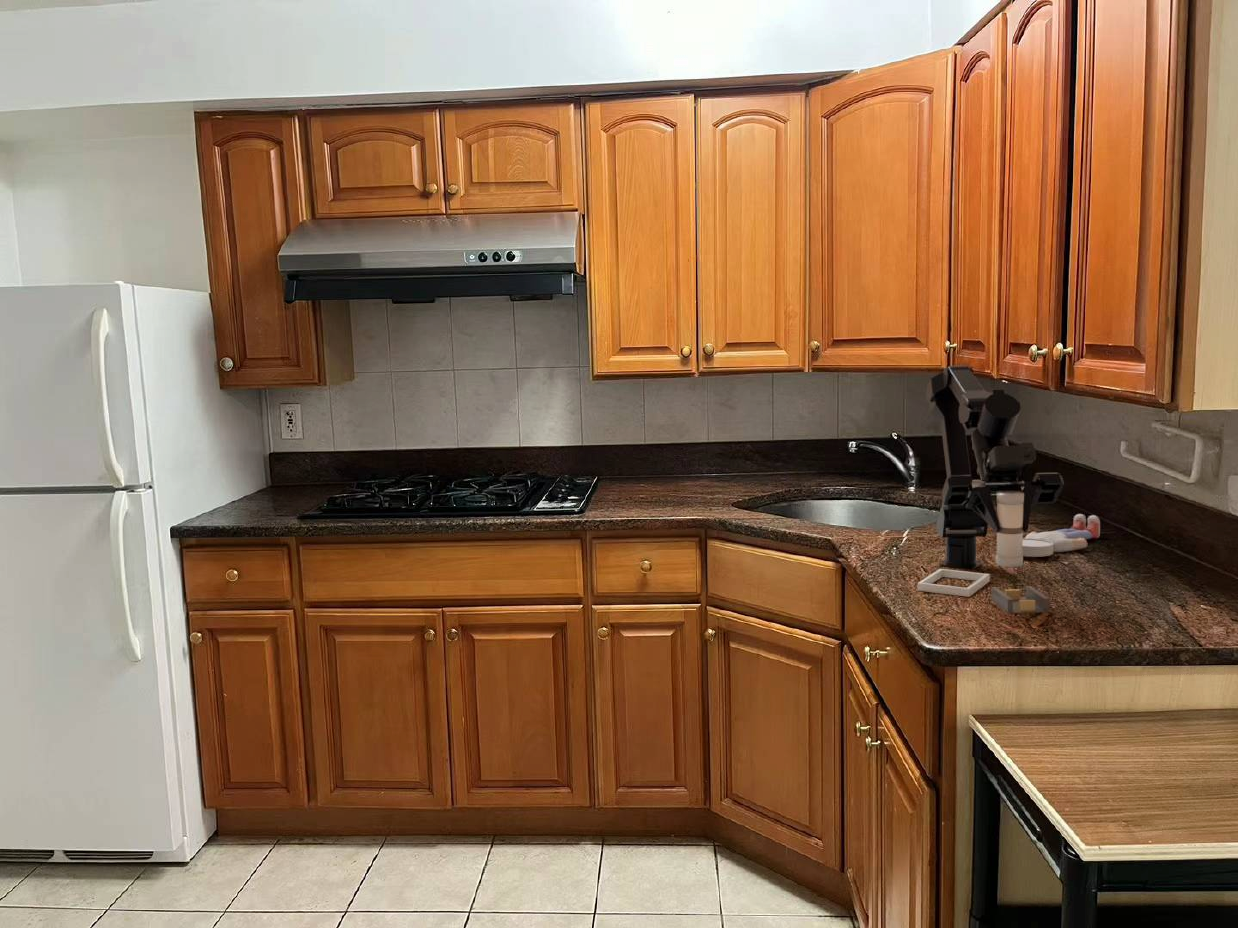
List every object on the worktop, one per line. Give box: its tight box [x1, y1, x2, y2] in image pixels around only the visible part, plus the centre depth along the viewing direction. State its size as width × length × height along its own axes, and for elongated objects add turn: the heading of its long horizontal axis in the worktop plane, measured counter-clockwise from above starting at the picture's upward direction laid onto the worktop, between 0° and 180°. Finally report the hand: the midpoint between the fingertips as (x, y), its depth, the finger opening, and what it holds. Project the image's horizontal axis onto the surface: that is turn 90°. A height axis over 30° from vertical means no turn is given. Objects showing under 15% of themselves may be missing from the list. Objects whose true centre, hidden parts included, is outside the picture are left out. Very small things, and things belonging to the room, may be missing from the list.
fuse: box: [995, 491, 1024, 568], centre depth 160 cm, size 4×4×12 cm
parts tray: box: [916, 568, 991, 598], centre depth 173 cm, size 12×9×2 cm
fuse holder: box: [988, 585, 1053, 614], centre depth 160 cm, size 9×7×3 cm
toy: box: [1022, 513, 1101, 558], centre depth 205 cm, size 6×13×30 cm
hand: (1012, 531), depth 159 cm, fingers closed on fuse, 4 cm apart
